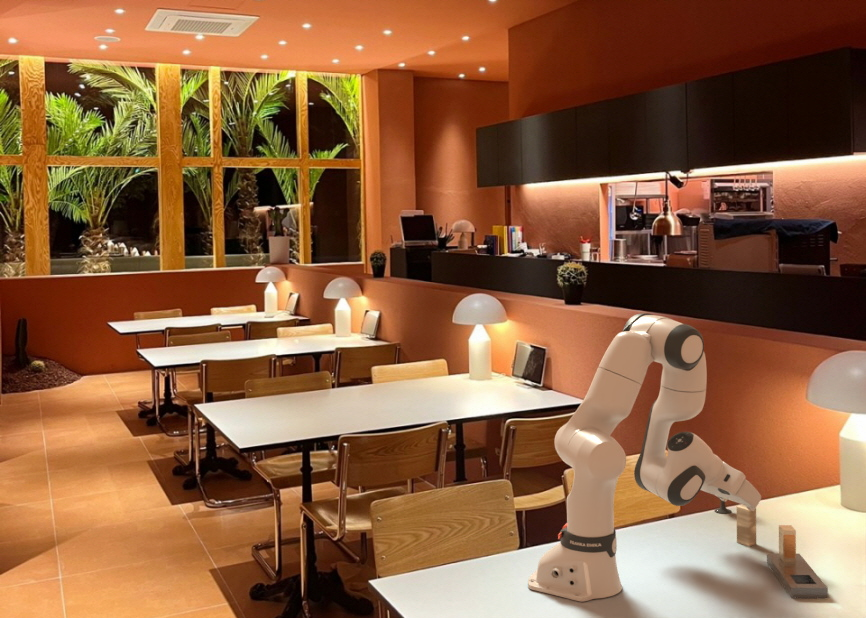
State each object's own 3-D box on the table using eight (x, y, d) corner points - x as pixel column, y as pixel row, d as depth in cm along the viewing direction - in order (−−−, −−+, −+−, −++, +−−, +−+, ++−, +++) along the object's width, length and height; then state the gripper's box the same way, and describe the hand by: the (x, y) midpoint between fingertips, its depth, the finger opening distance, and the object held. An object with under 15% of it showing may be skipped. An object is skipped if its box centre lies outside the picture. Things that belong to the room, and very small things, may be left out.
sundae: (719, 515, 263) (719, 466, 262) (707, 509, 270) (706, 461, 268) (739, 513, 265) (738, 464, 264) (726, 507, 271) (725, 458, 270)
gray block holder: (791, 598, 203) (791, 553, 202) (766, 562, 225) (766, 522, 224) (827, 598, 202) (827, 553, 201) (799, 563, 224) (799, 522, 223)
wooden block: (748, 546, 237) (748, 510, 236) (736, 542, 241) (736, 506, 240) (756, 544, 239) (756, 508, 238) (744, 540, 242) (744, 504, 241)
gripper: (677, 475, 240) (704, 502, 246) (736, 494, 222) (763, 524, 228) (689, 456, 241) (715, 484, 247) (748, 474, 224) (775, 503, 229)
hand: (739, 503), depth 237 cm, fingers open, 8 cm apart
